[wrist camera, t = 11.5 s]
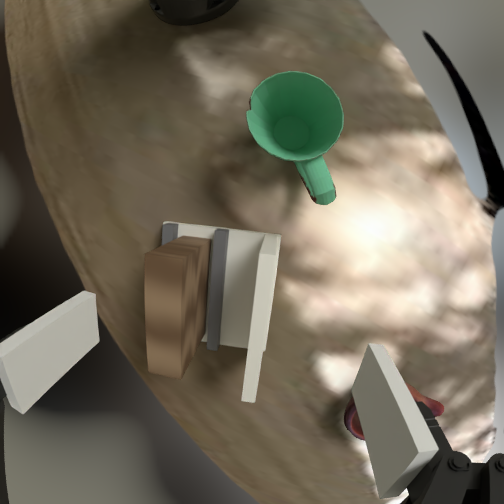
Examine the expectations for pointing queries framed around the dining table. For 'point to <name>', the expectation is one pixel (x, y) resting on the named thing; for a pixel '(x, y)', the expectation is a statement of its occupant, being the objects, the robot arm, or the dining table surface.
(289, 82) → the mug
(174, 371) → the door slab
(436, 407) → the bowl
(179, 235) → the track sill
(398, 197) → the dining table surface
